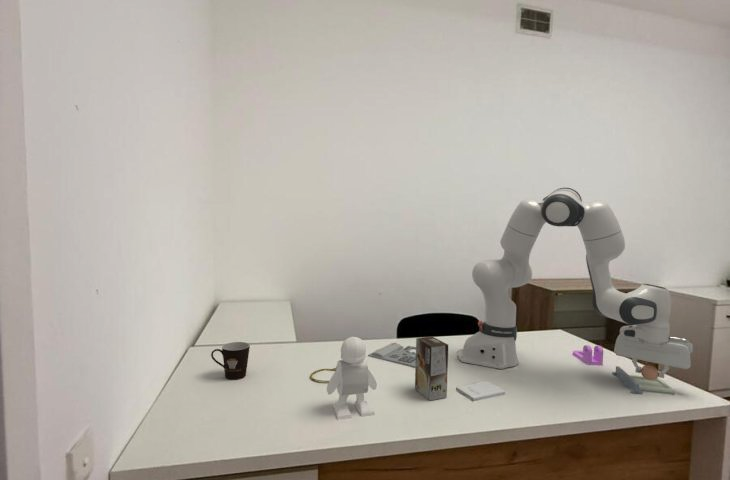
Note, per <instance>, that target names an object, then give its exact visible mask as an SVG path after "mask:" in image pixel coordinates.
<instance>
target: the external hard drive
mask: <svg viewBox="0 0 730 480" xmlns="http://www.w3.org/2000/svg"><path fill="white" fill-rule="evenodd" d="M455 391H456V392H458V393H459V394H461V395H463V396H465V397H466V398H468V399H469V400H471V401H472V402H476V401H481V400H486V399H490V398H491V399H492V398H495V397H499V396H503V395H506V390H504V389H503V388H500V387H498V386H497V385H495V384H493V383H492V382H490V381H487V380H486V381H481V382H476V383H471V384H467V385H462V386H456V387H455Z"/></svg>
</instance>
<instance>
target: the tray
mask: <svg viewBox="0 0 730 480" xmlns="http://www.w3.org/2000/svg"><path fill="white" fill-rule="evenodd" d="M628 375H629V376H630V377H631V378H633V379H634V380H635V381H636V382H637V383H638V384H639V390H641V391H642V392H648V393H649V392H650V393H657V394H665V395H675V389H674V388H673V387H671V386H669V385H668V384H667V383H666V382H665V381H663V380H662V379H661V378H660V377H658V378H657V379H656V380H647V379H645V378H644V377H643V376H642V375H636V374H635V375H633V374H628Z"/></svg>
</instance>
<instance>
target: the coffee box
mask: <svg viewBox="0 0 730 480" xmlns="http://www.w3.org/2000/svg"><path fill="white" fill-rule="evenodd" d="M415 347H416V350H415V353H416V367H415V368H414V371H415V372H414V373H415V374H414V375H415V377H414V389H415V390H416V391H417V392H419V393H420V395H422V396H424V398H426V399H427V400H429V401H435V400H441V399H446V398H448V375H449V374H448V367H449V365H448V364H449V343H447V342H444V341H442V340H440V339H438V338H436V337H434V336H422V337H418V338H416V340H415Z"/></svg>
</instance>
